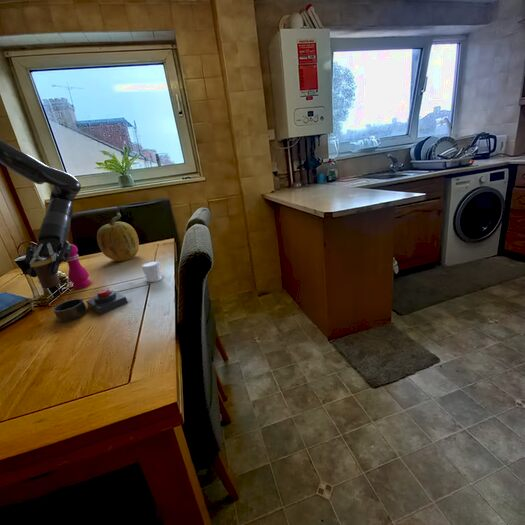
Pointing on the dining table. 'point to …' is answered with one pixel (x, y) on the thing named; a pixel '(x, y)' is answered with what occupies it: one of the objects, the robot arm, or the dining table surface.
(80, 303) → the pod holder
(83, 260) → the dining table surface
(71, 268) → the pepper mill
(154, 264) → the white short cylinder
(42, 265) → the coffee pod
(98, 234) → the pumpkin
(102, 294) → the brew button
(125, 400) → the dining table surface
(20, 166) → the robot arm
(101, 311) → the panel
